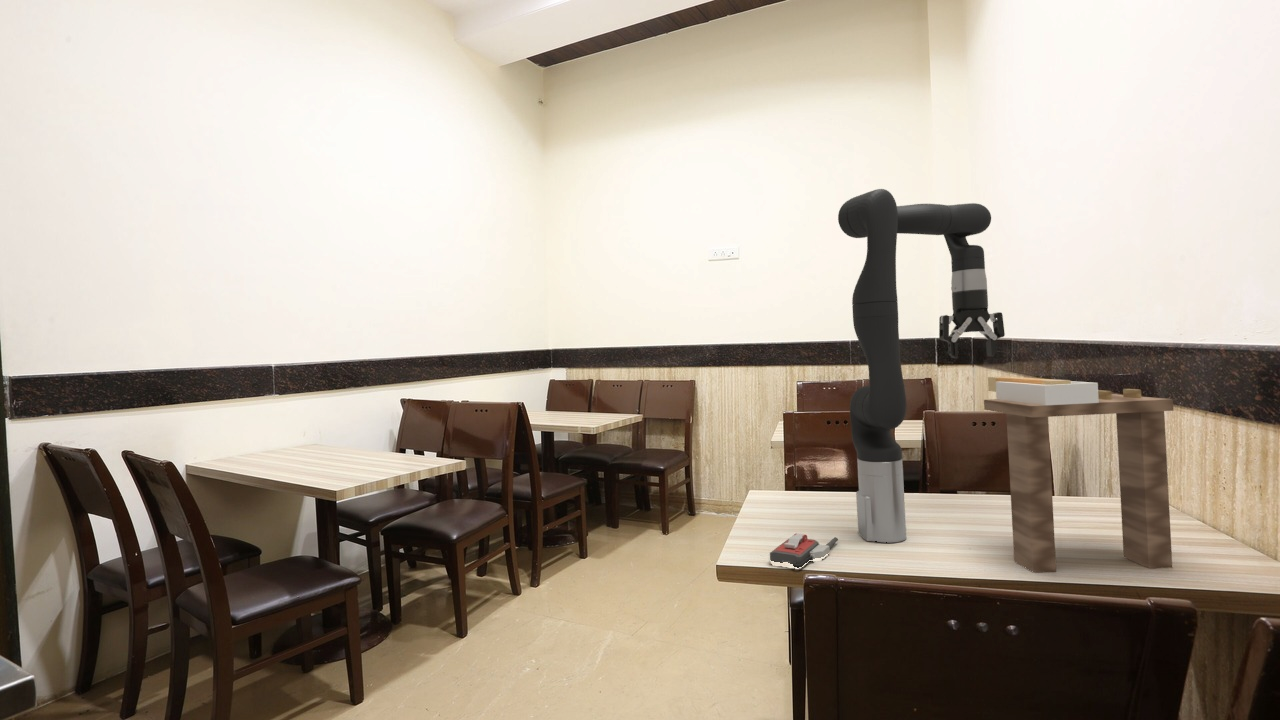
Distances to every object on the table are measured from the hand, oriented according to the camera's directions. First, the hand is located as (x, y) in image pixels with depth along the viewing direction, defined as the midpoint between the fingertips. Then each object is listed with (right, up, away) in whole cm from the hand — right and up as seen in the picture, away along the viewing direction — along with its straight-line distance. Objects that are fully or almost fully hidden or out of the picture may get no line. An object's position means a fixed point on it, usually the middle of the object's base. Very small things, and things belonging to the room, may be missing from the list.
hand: (972, 357), depth 146 cm
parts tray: (-4, -8, -32) cm, 33 cm away
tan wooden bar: (-4, -7, -26) cm, 28 cm away
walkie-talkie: (-46, -41, -22) cm, 65 cm away
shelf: (+3, -38, -32) cm, 50 cm away
